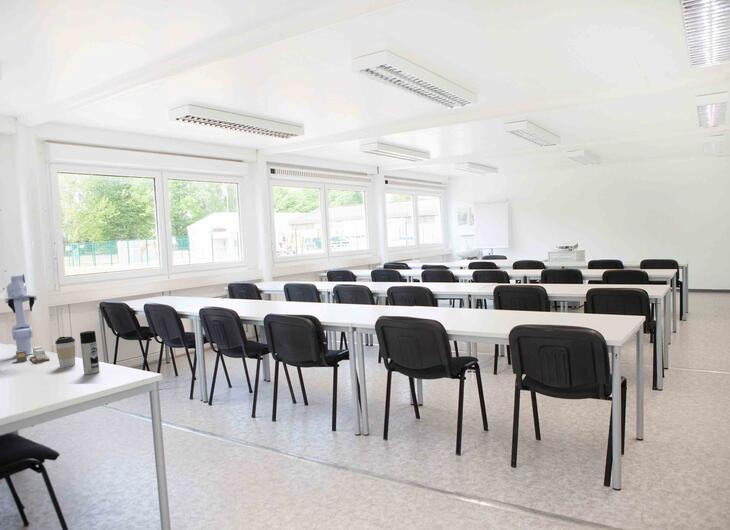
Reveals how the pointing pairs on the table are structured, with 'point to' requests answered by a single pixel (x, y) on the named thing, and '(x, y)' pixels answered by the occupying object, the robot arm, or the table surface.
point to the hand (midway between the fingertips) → (22, 311)
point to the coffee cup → (66, 351)
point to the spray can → (89, 352)
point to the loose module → (21, 356)
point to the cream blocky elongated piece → (39, 355)
